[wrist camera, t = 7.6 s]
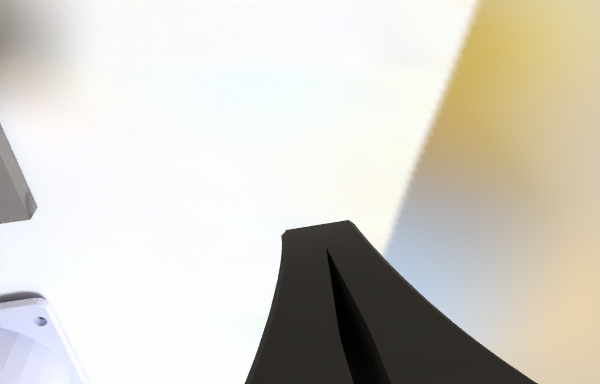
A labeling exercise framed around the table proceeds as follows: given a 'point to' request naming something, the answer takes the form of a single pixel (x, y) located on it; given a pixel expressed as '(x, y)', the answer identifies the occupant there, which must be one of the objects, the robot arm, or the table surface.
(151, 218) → the table surface
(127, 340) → the table surface
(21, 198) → the pit trap
